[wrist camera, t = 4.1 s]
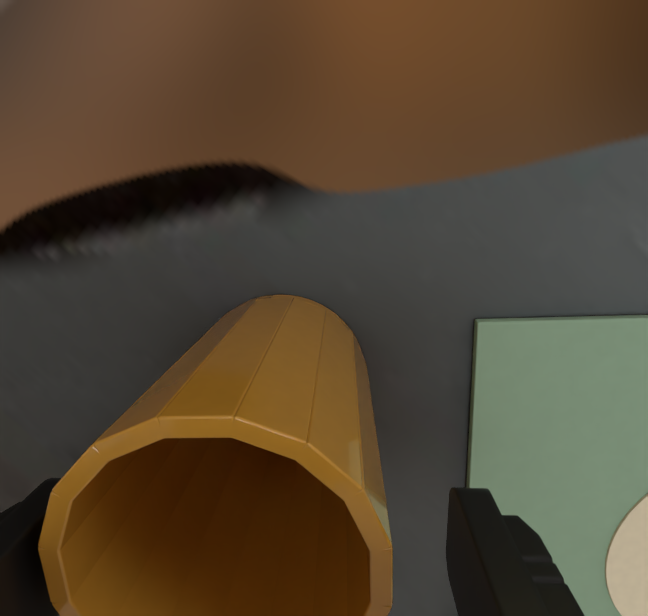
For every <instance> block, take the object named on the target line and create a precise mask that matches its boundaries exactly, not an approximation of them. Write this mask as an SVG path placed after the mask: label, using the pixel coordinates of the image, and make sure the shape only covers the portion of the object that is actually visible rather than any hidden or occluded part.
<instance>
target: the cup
mask: <svg viewBox="0 0 648 616" xmlns="http://www.w3.org/2000/svg"><path fill="white" fill-rule="evenodd" d="M38 552H39V556H40V560H41V565H42V569H43V573H44V577H45V581H46V585H47V590H48V594H49V598H50V602H51V603H52V606H53V607H54V609H55V610H56V611H57V613H58V614H59V615H60V616H388V614H389V612H390V610H391V608H392V604H393V546H392V539H391V532H390V525H389V518H388V511H387V504H386V497H385V490H384V483H383V476H382V469H381V462H380V456H379V449H378V442H377V435H376V428H375V421H374V414H373V407H372V400H371V393H370V386H369V379H368V372H367V365H366V362H365V359H364V357H363V353H362V350H361V347H360V345H359V342H358V341H357V339H356V337H355V335H354V333H353V332H352V331H351V329H350V328H349V327H348V325H347V324H346V323H345V322H344V321H343V320H342V319H341V318H340V317H339V316H338V315H336V314H335V313H334V312H333V311H331V310H330V309H328V308H326V307H325V306H323V305H321V304H319V303H317V302H315V301H312V300H310V299H306V298H303V297H299V296H293V295H267V296H263V297H258V298H255V299H252V300H249V301H247V302H245V303H243V304H241V305H239V306H237V307H236V308H234V309H233V310H231V311H229V312H228V313H226V314H225V315H224V316H223V317H222V318H221V319H220V320H219V321H218V322H217V323H216V324H215V325H214V326H213V327H212V328H211V329H210V330H208V331H207V332H206V333H205V334H204V335H203V336H202V337H201V338H200V339H199V340H198V341H197V342H196V343H195V344H194V345H193V346H192V347H191V348H190V349H189V350H188V351H187V352H186V353H185V354H184V355H183V356H182V357H181V358H180V359H179V360H178V361H177V362H176V363H175V364H174V365H173V366H171V367H170V368H169V369H168V370H167V371H166V372H165V373H164V374H163V375H162V376H161V377H160V378H159V379H158V380H157V381H156V382H155V383H154V384H153V385H152V386H151V387H150V388H149V389H148V390H147V391H146V392H145V393H144V394H143V395H142V396H141V397H140V398H139V399H138V400H137V401H136V402H135V403H133V404H132V405H131V406H130V407H129V408H128V409H127V410H126V411H125V412H124V413H123V414H122V415H121V416H120V417H119V418H118V419H117V420H116V421H115V422H114V423H113V424H112V425H111V426H110V427H109V428H108V429H107V430H106V431H105V432H104V433H103V434H102V435H101V436H100V437H99V438H98V439H96V440H95V441H94V442H93V443H92V444H91V445H90V447H89V448H88V449H87V450H86V451H85V452H84V453H83V454H82V456H81V457H80V458H79V459H78V460H77V461H76V462H75V463H74V465H73V466H72V467H71V468H70V469H69V470H68V471H67V472H66V474H65V475H64V476H63V477H62V478H61V479H60V480H59V481H58V483H57V484H56V485H55V486H54V487H53V489H52V491H51V493H50V497H49V501H48V505H47V509H46V514H45V518H44V522H43V526H42V530H41V535H40V539H39V543H38Z"/></svg>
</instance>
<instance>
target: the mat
mask: <svg viewBox="0 0 648 616" xmlns="http://www.w3.org/2000/svg"><path fill="white" fill-rule="evenodd" d="M466 488H487V489H489V490H490V492H491V494H492V496H493V498H494V500H495V502H496V504H497V506H498V508H499V510H500V512H501V515H518V516H519V517H520V518H521V519H522V520H523V521H524V522H525V523H527V524H528V525H529V526H530V527H531V528H532V529H533V530H534V531H535V532H536V533H537V534H539V536H540V537H541V539H542V541H543V543H544V545H545V546H546V548H547V550H548V552H549V553H550V555H551V557H552V560H553V563H555V564H556V566H557V568H558V569H559V571H560V573H561V575H562V576H563V578H564V583H565V584H567V585H568V587H569V589H570V591H571V592H572V594H573V596H574V598H575V599H576V601H577V603H578V605H579V606H580V608H581V610H582V612H583V614H584V615H585V616H648V315H621V316H580V317H540V318H499V319H475V322H474V342H473V363H472V383H471V403H470V424H469V444H468V464H467V485H466Z"/></svg>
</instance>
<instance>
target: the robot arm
mask: <svg viewBox="0 0 648 616" xmlns="http://www.w3.org/2000/svg"><path fill="white" fill-rule="evenodd" d="M60 479H61V478H50V479H47V480H45V481H44V482H43V483H42V484H40V485H39V486H38V487H37V488H36V489H35V490H34V491H33V492H32V493H31V494H30V495H29V496H27V497H26V498H25V499H24V500H23V501H22V502H19V503H17V504H15V505H14V506H12V507H10V508H9V509H7V510H5V511H4V512H2V513H0V616H58V613H57V611H56V610H55V609H54V607H53V606H52V603H51V602H50V598H49V594H48V590H47V585H46V581H45V577H44V573H43V569H42V565H41V560H40V556H39V552H38V543H39V539H40V535H41V530H42V526H43V522H44V518H45V514H46V509H47V505H48V501H49V497H50V493H51V491H52V489H53V487H54V486H55V485H56V484H57V483H58V481H59V480H60ZM446 560H447V569H448V576H449V581H450V585H451V589H452V592H453V596H454V600H455V604H456V608H457V612H458V615H459V616H585V615H584V614H583V612H582V610H581V608H580V606H579V605H578V603H577V601H576V599H575V598H574V596H573V594H572V592H571V591H570V589H569V587H568V585H567V584H565V583H564V578H563V576H562V575H561V573H560V571H559V569H558V568H557V566H556V564H555V563H553V560H552V557H551V555H550V553H549V552H548V550H547V548H546V546H545V545H544V543H543V541H542V539H541V537H540V536H539V534H537V533H536V532H535V531H534V530H533V529H532V528H531V527H530V526H529V525H528V524H527V523H525V522H524V521H523V520H522V519H521V518H520V517H519V516H518V515H501V512H500V510H499V508H498V506H497V504H496V502H495V500H494V498H493V496H492V494H491V492H490V490H489V489H487V488H451V490H450V494H449V508H448V524H447V540H446Z"/></svg>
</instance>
